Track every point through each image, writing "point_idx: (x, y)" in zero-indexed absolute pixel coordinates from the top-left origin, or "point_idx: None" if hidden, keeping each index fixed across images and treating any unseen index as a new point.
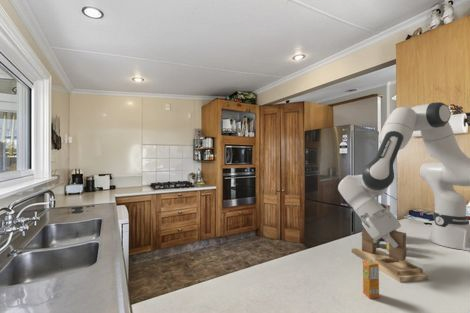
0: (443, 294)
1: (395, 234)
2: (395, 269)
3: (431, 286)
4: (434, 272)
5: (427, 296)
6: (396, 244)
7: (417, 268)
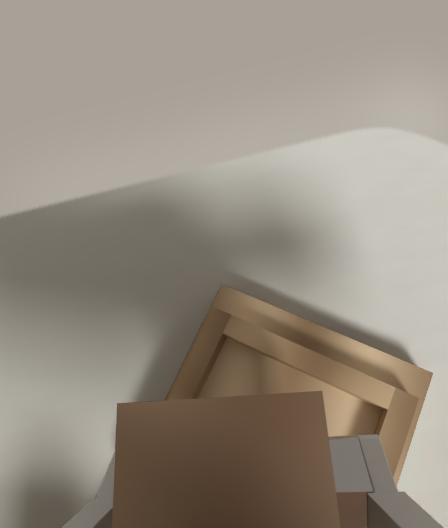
0: (339, 200)
1: (339, 520)
2: (394, 422)
3: (301, 256)
4: (97, 303)
5: (440, 230)
6: (383, 451)
7: (229, 331)
